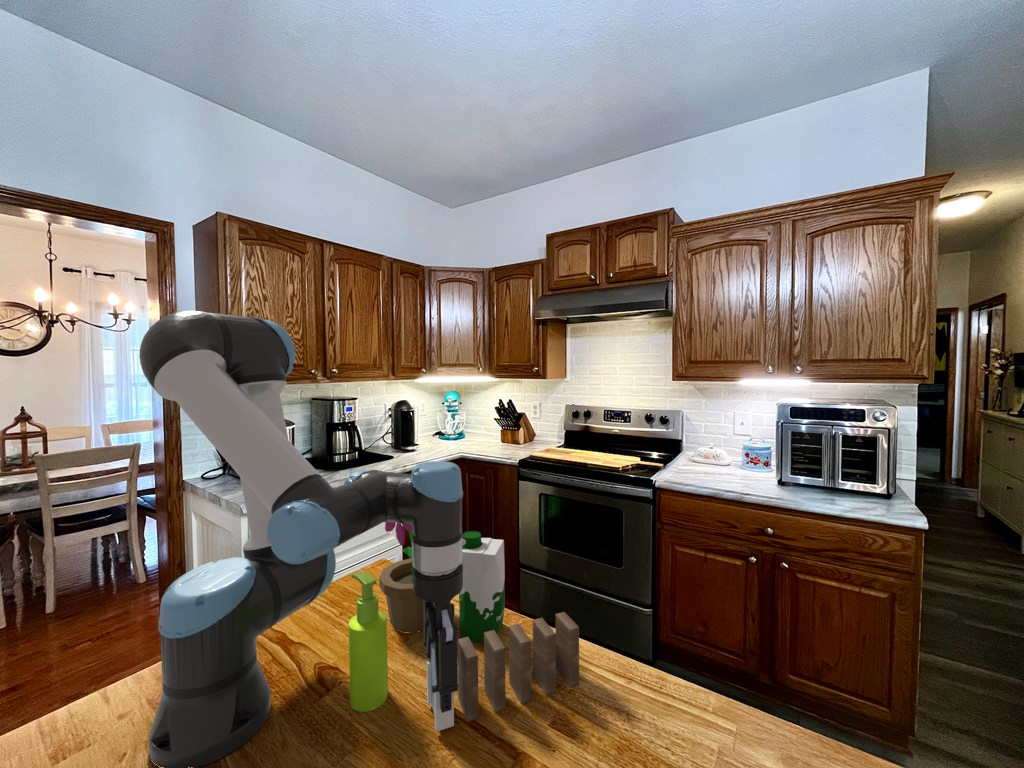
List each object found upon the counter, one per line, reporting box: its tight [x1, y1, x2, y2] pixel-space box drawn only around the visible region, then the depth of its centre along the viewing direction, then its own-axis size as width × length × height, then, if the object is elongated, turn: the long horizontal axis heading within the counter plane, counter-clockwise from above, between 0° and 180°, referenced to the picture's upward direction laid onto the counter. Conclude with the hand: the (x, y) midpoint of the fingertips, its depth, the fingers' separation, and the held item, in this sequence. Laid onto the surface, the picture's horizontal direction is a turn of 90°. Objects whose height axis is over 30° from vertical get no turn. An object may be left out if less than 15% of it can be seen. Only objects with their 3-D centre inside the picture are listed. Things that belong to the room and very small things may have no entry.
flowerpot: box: [378, 522, 424, 633], centre depth 92 cm, size 14×14×30 cm
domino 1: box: [430, 643, 436, 717], centre depth 66 cm, size 2×5×10 cm, turn 23°
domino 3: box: [483, 630, 507, 714], centre depth 70 cm, size 2×5×10 cm, turn 23°
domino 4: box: [508, 623, 532, 705], centre depth 71 cm, size 2×5×10 cm, turn 23°
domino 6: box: [555, 611, 580, 688], centre depth 75 cm, size 2×5×10 cm, turn 23°
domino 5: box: [532, 617, 557, 696], centre depth 73 cm, size 2×5×10 cm, turn 23°
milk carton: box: [458, 530, 506, 643], centre depth 88 cm, size 9×9×20 cm
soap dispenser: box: [348, 570, 389, 712], centre depth 70 cm, size 6×7×20 cm
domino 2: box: [457, 637, 479, 723], centre depth 68 cm, size 2×5×10 cm, turn 23°
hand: (440, 712), depth 66 cm, fingers closed on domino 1, 5 cm apart
